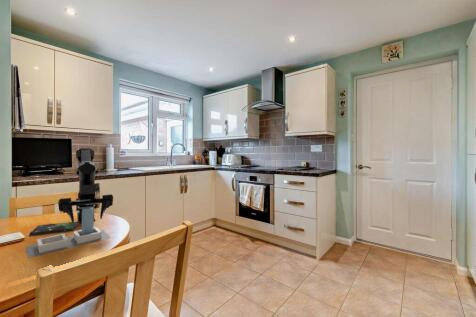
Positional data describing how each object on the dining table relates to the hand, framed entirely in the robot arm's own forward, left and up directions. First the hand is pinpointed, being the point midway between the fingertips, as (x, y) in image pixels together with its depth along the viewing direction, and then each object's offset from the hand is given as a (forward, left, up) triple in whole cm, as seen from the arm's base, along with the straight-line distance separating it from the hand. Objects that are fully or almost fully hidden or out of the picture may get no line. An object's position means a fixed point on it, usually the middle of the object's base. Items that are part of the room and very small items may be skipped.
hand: (87, 220), depth 90 cm
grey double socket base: (+5, -1, -9) cm, 10 cm away
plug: (0, -1, -7) cm, 8 cm away
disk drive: (+7, -22, -9) cm, 25 cm away
